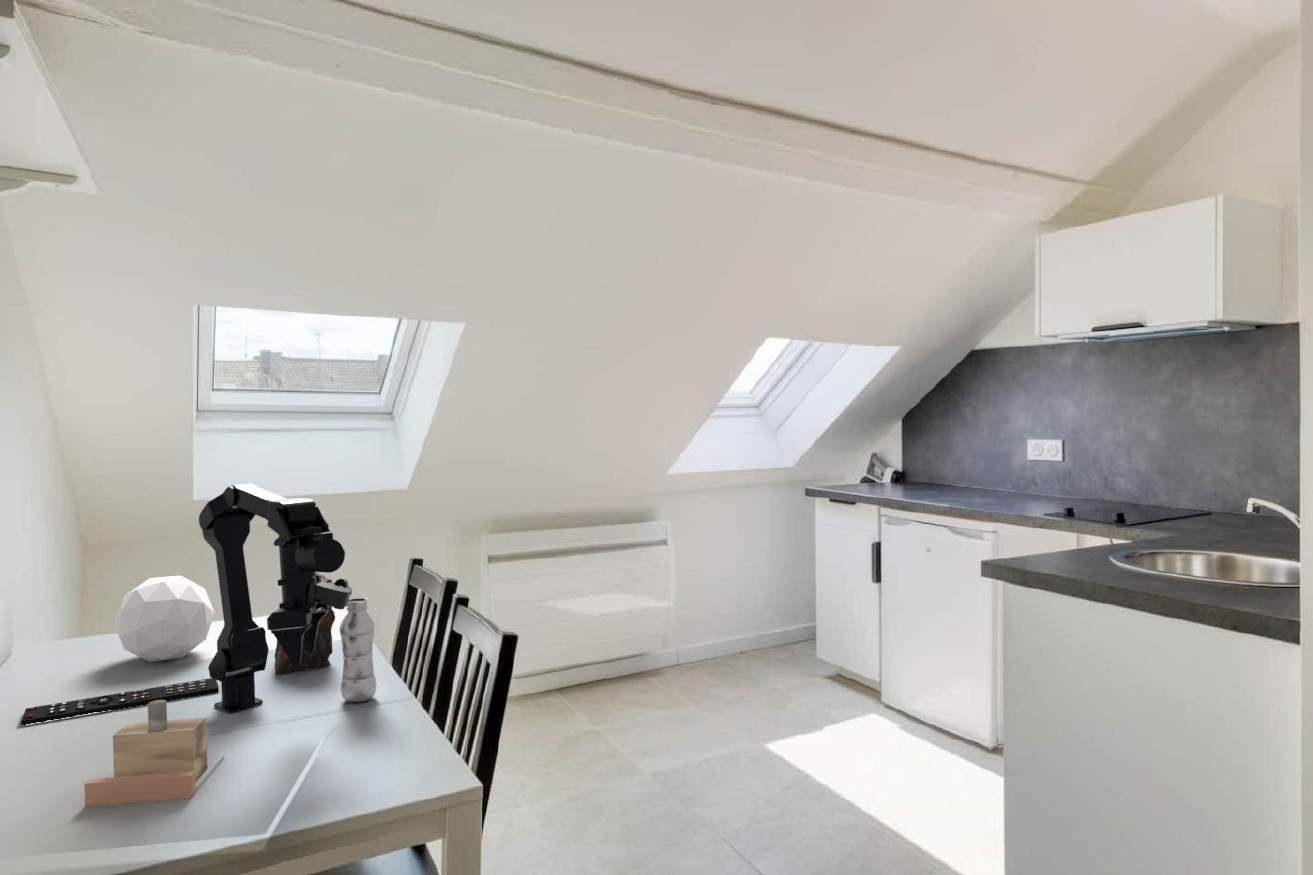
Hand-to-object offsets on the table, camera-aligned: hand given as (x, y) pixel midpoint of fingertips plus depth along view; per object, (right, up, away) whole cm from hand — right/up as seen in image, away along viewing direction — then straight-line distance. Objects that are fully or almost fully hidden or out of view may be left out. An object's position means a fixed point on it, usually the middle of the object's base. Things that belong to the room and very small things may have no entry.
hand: (304, 658), depth 141 cm
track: (-13, -14, -20) cm, 28 cm away
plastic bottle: (+3, -13, +17) cm, 22 cm away
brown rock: (-18, -12, +38) cm, 44 cm away
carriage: (-13, -13, -19) cm, 27 cm away
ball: (-52, -12, +44) cm, 69 cm away
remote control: (-42, -14, +16) cm, 47 cm away
